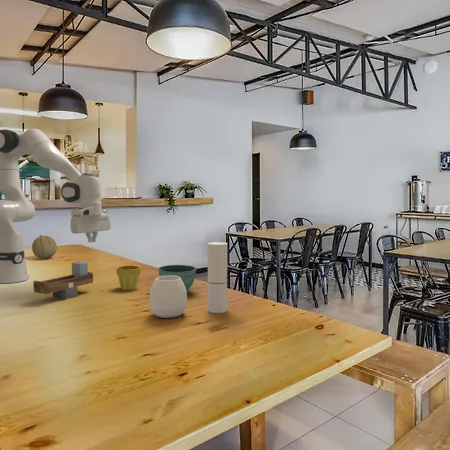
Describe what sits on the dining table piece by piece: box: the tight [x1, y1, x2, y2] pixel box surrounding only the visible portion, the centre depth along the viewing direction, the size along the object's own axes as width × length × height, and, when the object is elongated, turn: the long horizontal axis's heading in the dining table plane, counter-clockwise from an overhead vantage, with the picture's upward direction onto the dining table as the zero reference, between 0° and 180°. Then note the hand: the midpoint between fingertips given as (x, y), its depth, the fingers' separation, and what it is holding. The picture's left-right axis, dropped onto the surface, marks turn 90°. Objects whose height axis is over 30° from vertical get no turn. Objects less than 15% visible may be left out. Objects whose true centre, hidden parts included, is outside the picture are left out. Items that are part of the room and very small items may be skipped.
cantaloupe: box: [31, 234, 58, 260], centre depth 266 cm, size 15×15×15 cm
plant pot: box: [116, 264, 141, 291], centre depth 188 cm, size 10×10×10 cm
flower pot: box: [157, 264, 197, 294], centre depth 182 cm, size 16×16×11 cm
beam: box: [32, 271, 94, 300], centre depth 174 cm, size 8×24×8 cm, turn 151°
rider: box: [71, 261, 89, 278], centre depth 180 cm, size 5×4×7 cm
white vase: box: [149, 275, 188, 319], centre depth 149 cm, size 13×13×14 cm
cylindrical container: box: [207, 241, 228, 314], centre depth 155 cm, size 7×7×25 cm
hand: (92, 242), depth 185 cm, fingers closed
